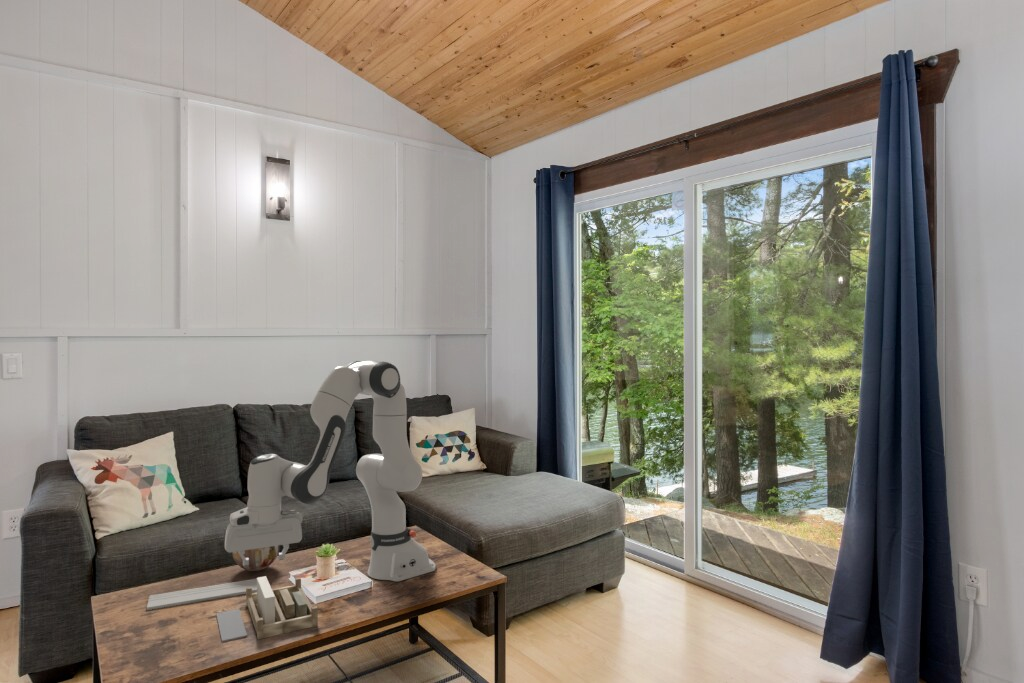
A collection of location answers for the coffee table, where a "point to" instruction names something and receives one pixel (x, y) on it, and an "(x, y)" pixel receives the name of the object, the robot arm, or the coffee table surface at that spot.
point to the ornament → (258, 557)
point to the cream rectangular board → (265, 601)
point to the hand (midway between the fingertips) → (264, 562)
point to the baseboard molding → (200, 594)
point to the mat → (231, 625)
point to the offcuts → (292, 603)
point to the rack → (281, 614)
